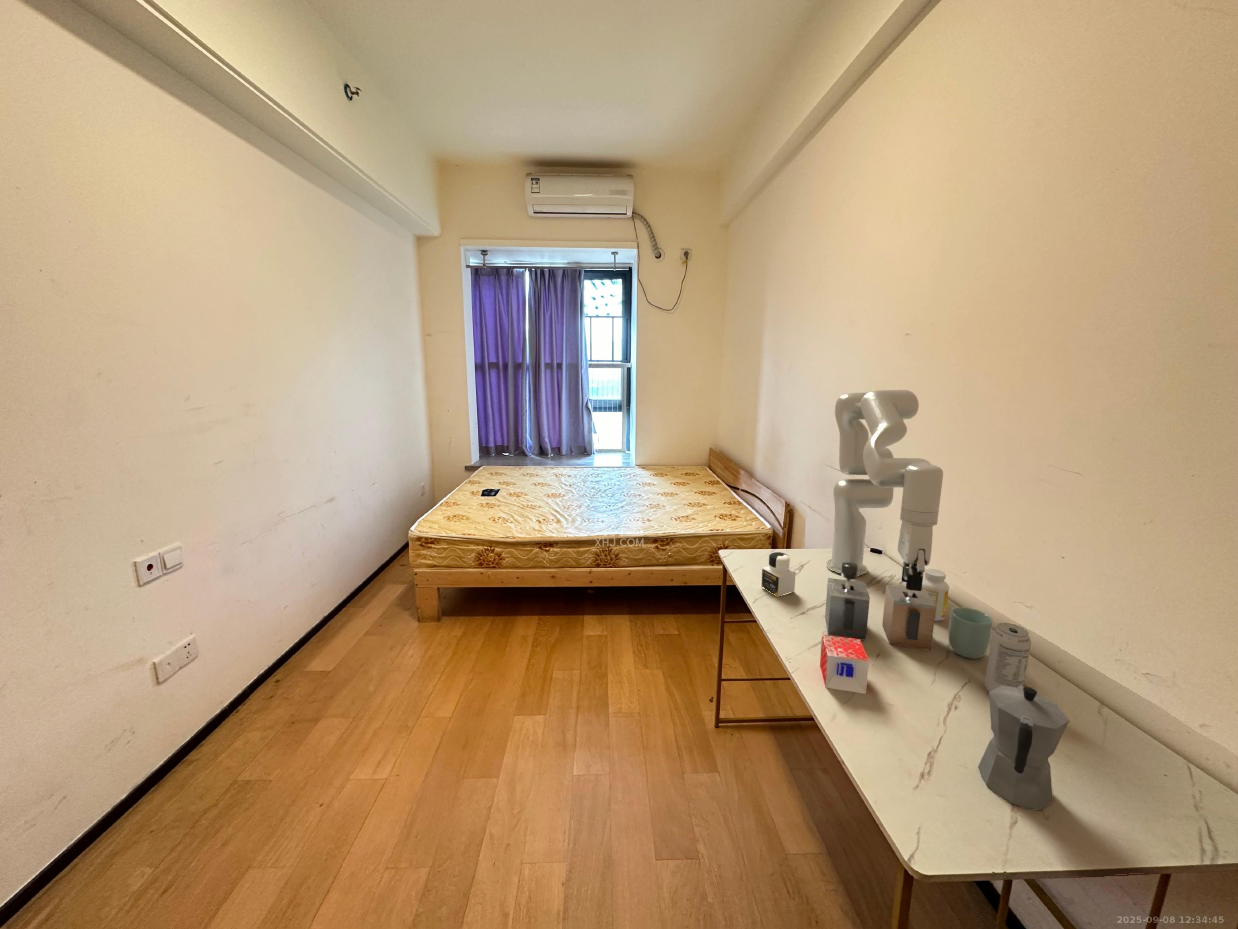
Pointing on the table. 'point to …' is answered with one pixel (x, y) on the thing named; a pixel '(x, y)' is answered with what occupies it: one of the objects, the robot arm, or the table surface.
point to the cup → (969, 632)
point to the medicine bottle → (778, 575)
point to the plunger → (849, 572)
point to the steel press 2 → (908, 617)
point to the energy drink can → (1007, 656)
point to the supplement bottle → (937, 591)
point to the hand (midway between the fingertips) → (911, 585)
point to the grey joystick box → (847, 609)
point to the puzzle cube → (844, 664)
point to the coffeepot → (1022, 745)
